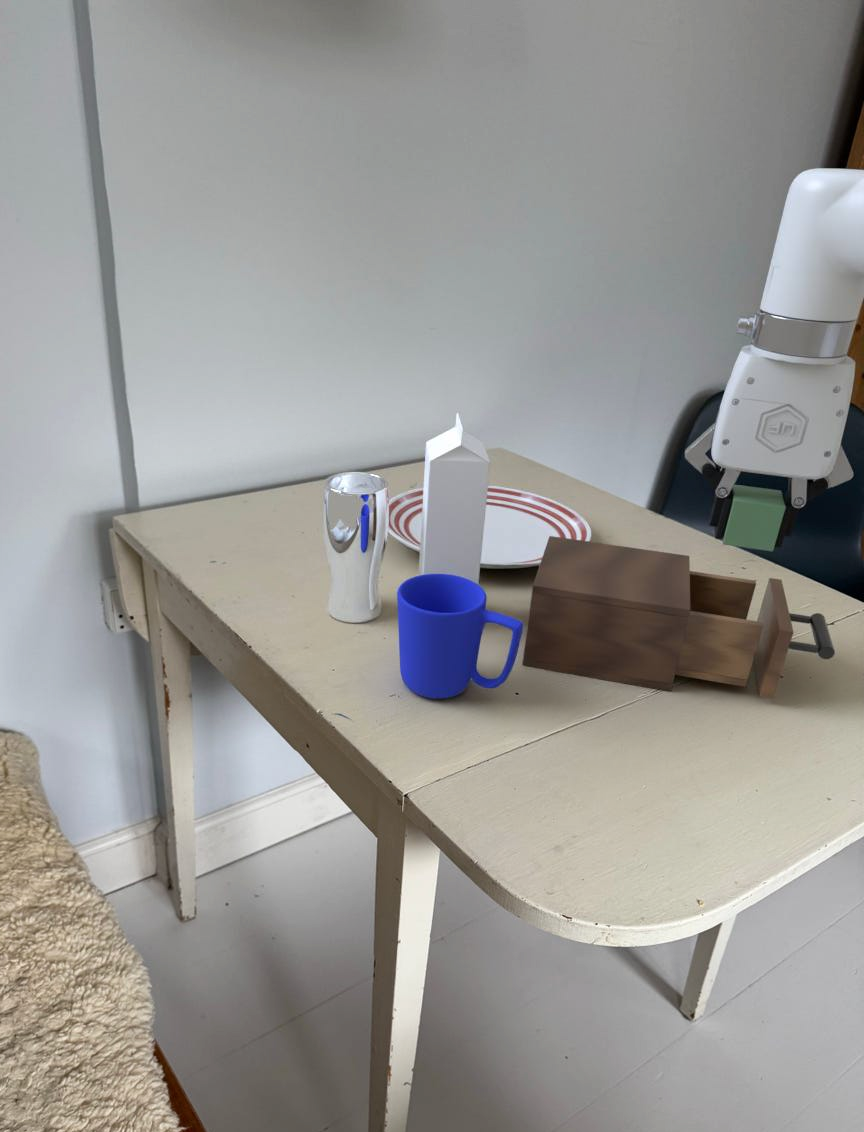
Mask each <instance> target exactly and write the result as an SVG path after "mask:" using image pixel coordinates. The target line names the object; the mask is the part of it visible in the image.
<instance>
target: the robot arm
mask: <svg viewBox="0 0 864 1132" xmlns="http://www.w3.org/2000/svg"><path fill="white" fill-rule="evenodd" d="M781 215H782V216H781V219H780V223H779V227H778V231H777V234H776V235H777V236H776V240H775V243H774V248H773V252H772V255H771V256H772V257H771V261H770V263H769V264H770V265H769V269H768V273H767V277H766V281H765V285H764V290H763V293H762V297H761V301H760V306H759V307H758V309H757V311H756V312H757V313H756V312H755V313H754V314H753V315H749V316H748V317H747V316H739V317H738V320H737V324H736V327H735V328H736V329H735V334H741V335H744V336H745V337H748V339H749V340H750V341H751V342H750V344H749V345H748V344H747V345H744V346H742V347H741V350H740V351H739V354H738V356H737V358H736V360H735V363H734V365H733V367H732V370H731V373H730V376H729V378H728V381H727V383H726V386H725V390H724V393H723V395H722V399H721V402H720V405H719V408H718V411H717V415H716V418H715V421H714V423H713V424H712V425H711V426H709V427H708V428H707V429H706V430H705V431H703V433H702V434H700V436H698V437H697V438H696V439H695V440H694V441H693V442H692V443H691V444H690V445H688V446H687V447H686V449H685V450H684V459H685V460H686V461H687V462H688V463H689V464H690V465H691V466H693V468H694V469H696V470H697V471H698V472H699V473H700V474H701V475H702V477H703V478H704V479H705V481H706V482H707V484H708V485H709V486H710V488H712V490H713V492H714V493H715V495H714V499H713V503H712V506H711V507H712V508H711V510H710V516H709V520H708V526H709V527H714V538H715V540H722V538H724V534H725V530H726V526H727V522H728V518H729V514H730V511H731V507H732V502H733V499H732V487H733V485H736V482H737V480H738V478H739V476H740V475H741V472H744V473H751V474H753V473H754V474H761V475H768V476H774V477H775V476H776V477H783V478H785V477H786V478H788V488H787V489H788V490H787V491H786V492H785V494H784V495H782V496H783V499H784V503H785V507H786V508H785V512H784V515H783V519H782V522H781V526H780V529H779V532H778V536H777V539H776V543H775V546H774V548H779V549H781V548H782V545H783V542H784V540H785V537H787V538H791V536H792V534H793V530H794V528H795V525H796V521H797V517H798V514H799V510H800V509H801V508H804V506H806V503H808V502H809V501H811V500H813V499H814V498H816V497H818V496H819V495H821V494H823V493H825V492H826V491H827V490H828V489H830V488H834V487H836V486H839V485H841V484H843V483H845V482H848V481H850V480H851V479H853V477H854V475H855V474H854V471H853V468H852V466H851V464H850V462H849V459H848V458H847V454H846V453H845V450H844V448H843V445H842V439H843V435H844V431H845V428H846V427H845V426H846V423H847V418H848V414H849V410H850V404H851V399H852V394H853V388H854V382H855V373H856V361H855V360H854V359H853V358H852V357H850V356H848V355H847V354H848V352H849V349H850V344H851V342H852V338H853V335H854V332H855V329H856V325H857V322H858V318H859V315H860V311H861V308H862V304H863V301H864V169H855V168H831V167H830V168H828V167H827V168H824V167H819V168H810V169H806V170H803V171H802V172H800V173H799V174H798V175H797V176H796V177H795V178H794V179H793V181H792V182H791V184H790V186H789V189H788V192H787V196H786V199H785V203H784V207H783V211H782V214H781ZM710 449H711V450H710ZM709 450H710V451H711V453H710V454H711V458H712V460H711V459H710V458H709V457H708V455H706V453H707V452H709ZM717 465H718V466H719V467H721V468H719V467H718V466H717Z"/></svg>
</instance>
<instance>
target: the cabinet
mask: <svg viewBox="0 0 864 1132" xmlns="http://www.w3.org/2000/svg"><path fill="white" fill-rule="evenodd" d="M690 563H691V562H690V555H685V554H678V553H671V552H664V551H659V550H658V551H657V550H651V549H644V548H637V547H631V546H622V545H617V544H610V543H602V542H594V541H590V542H589V541H582V540H575V539H568V538H561V537H554V536H549V539H548V542H547V545H546V548H545V551H544V554H543V557H542V560H541V563H540V565H538V569H537V572H536V575H535V578H534V581H533V584H532V591H531V597H530V605H529V611H528V612H529V613H528V620H527V627H526V635H525V642H524V649H523V650H524V651H523V656H522V657H523V659H522V666H526V667H531V668H536V669H544V670H547V671H554V672H558V673H563V674H564V673H565V674H569V675H570V674H571V675H576V676H582V677H587V678H592V679H599V680H605V681H609V682H616V683H620V684H627V685H633V686H637V687H642V688H649V689H654V690H660V691H666V692H672V688H673V684H674V680H675V676H676V675H675V672H676V668H677V664H678V660H679V656H680V652H681V647H682V643H683V639H684V635H685V631H686V627H687V622H688V618H689V614H690V571H691V570H690V568H691V566H690V565H691V564H690Z"/></svg>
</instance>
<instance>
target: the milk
mask: <svg viewBox="0 0 864 1132" xmlns="http://www.w3.org/2000/svg"><path fill="white" fill-rule="evenodd" d="M455 415H456V416H455V426H454V427H452V428H450V429H448V430H446V431H444V432H442V433H441V434H439V435H436V436H435V437H433V438H431V439H429V440H427V441H426V442H425V456H424V457H425V458H424V471H423V473H424V474H423V487H424V489H423V507H422V524H421V541H420V552H419V558H418V559H419V560H418V576H420V575H425V574H449V575H455V576H459V577H463V578H466V579H469V580H471V581H473V582H475V583H476V584H478V585H479V583H480V582H479V581H480V574H481V573H480V571H481V568H480V563H481V552H482V542H483V532H484V521H485V511H486V501H487V491H488V485H489V479H490V478H489V477H490V469H491V461H490V459H489V456H488V455H489V454H488V452H487V450H486V448H485V444H484V443H483V442H482V441H480V440H479V439H477V438H475V437H474V436H472V435H471V434H470V433H467V432H466V431H464V428H463V425H462V421H461V418H460V415H459V413H458V412H456V414H455Z"/></svg>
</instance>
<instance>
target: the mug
mask: <svg viewBox="0 0 864 1132" xmlns="http://www.w3.org/2000/svg"><path fill="white" fill-rule="evenodd" d="M487 598H488V597H487V593H486V590H484V589H483V587H481V586H480V584H479V583H478V584H476V583H475V582H473V581H471V580H469V579H466V578H463V577H459V576H455V575H449V574H425V575H420V576H419V575H416V576H412V577H410V578H408V579H406V580H405V581H403V582H402V583H401V584H400V585H399V586H398V588H397V591H396V600H397V601H396V602H397V625H398V627H397V629H398V649H399V650H398V651H399V654H398V655H399V672H400V676H401V680H402V682H403V683H404V685H405V687H406V688H407V689H408V690H410V691H411V692H412V693H414V694H416V695H418V696H421V697H423V698H428V699H434V700H435V699H438V700H440V699H448V698H449V699H450V698H453V697H455V696H457V695H459V694H461V693H462V692H464V691H465V690H466V689H467V688H468V686H469V684H470V683H471V681H472V682H473V683H474V684H476V685H478V686H479V687H481V688H483V689H484V688H485V689H497V688H499V687H500V686H502V685H503V684H504V683H505V682H506V680H507V679H508V678H509V676H510V674H511V672H512V669H513V667H514V666H515V662H516V659H517V655H518V652H519V648H520V643H521V640H522V635H523V631H524V630H523V629H524V623H523V621H521V620H520V619H517V618H515V617H512V616H509V615H506V614H503V613H500V612H497V611H494V610H493V611H492V610H488V609H486V607H487V600H488V599H487ZM488 623H489V624H490V623H491V624H495V625H498V626H502V627H503V628H506V629H508V630H511V632H512V636H511V640H510V645H509V649H508V654H507V658H506V661H505V664H504V666H503V669H502V671H501V673H500V674H499V676H497V677H495V678H488V677H485V676H483V675H481V674H480V673H479V671H478V658H479V653H480V646H481V640H482V636H483V632H484V628H485V625H486V624H488Z"/></svg>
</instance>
